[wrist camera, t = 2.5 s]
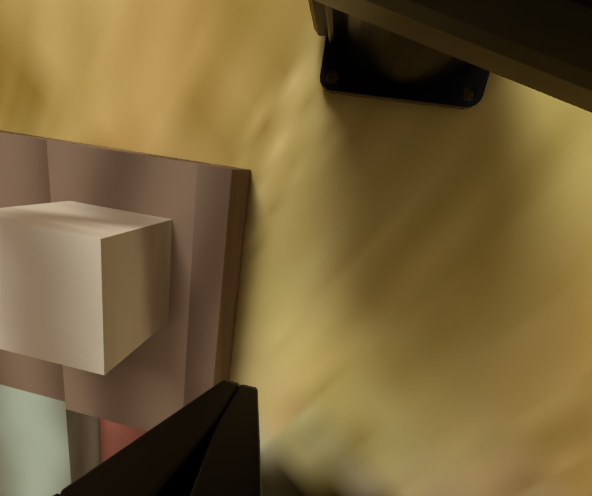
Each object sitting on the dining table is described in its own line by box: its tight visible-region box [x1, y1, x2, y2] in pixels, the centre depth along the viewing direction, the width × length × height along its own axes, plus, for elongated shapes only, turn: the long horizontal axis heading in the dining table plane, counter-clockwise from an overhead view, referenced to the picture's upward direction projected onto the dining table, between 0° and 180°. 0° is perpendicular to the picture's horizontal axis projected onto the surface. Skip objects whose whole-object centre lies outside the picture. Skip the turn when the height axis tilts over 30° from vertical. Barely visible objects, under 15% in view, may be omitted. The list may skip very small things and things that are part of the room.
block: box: [0, 201, 172, 375], centre depth 12 cm, size 5×5×4 cm
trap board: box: [0, 131, 250, 496], centre depth 18 cm, size 27×24×2 cm
